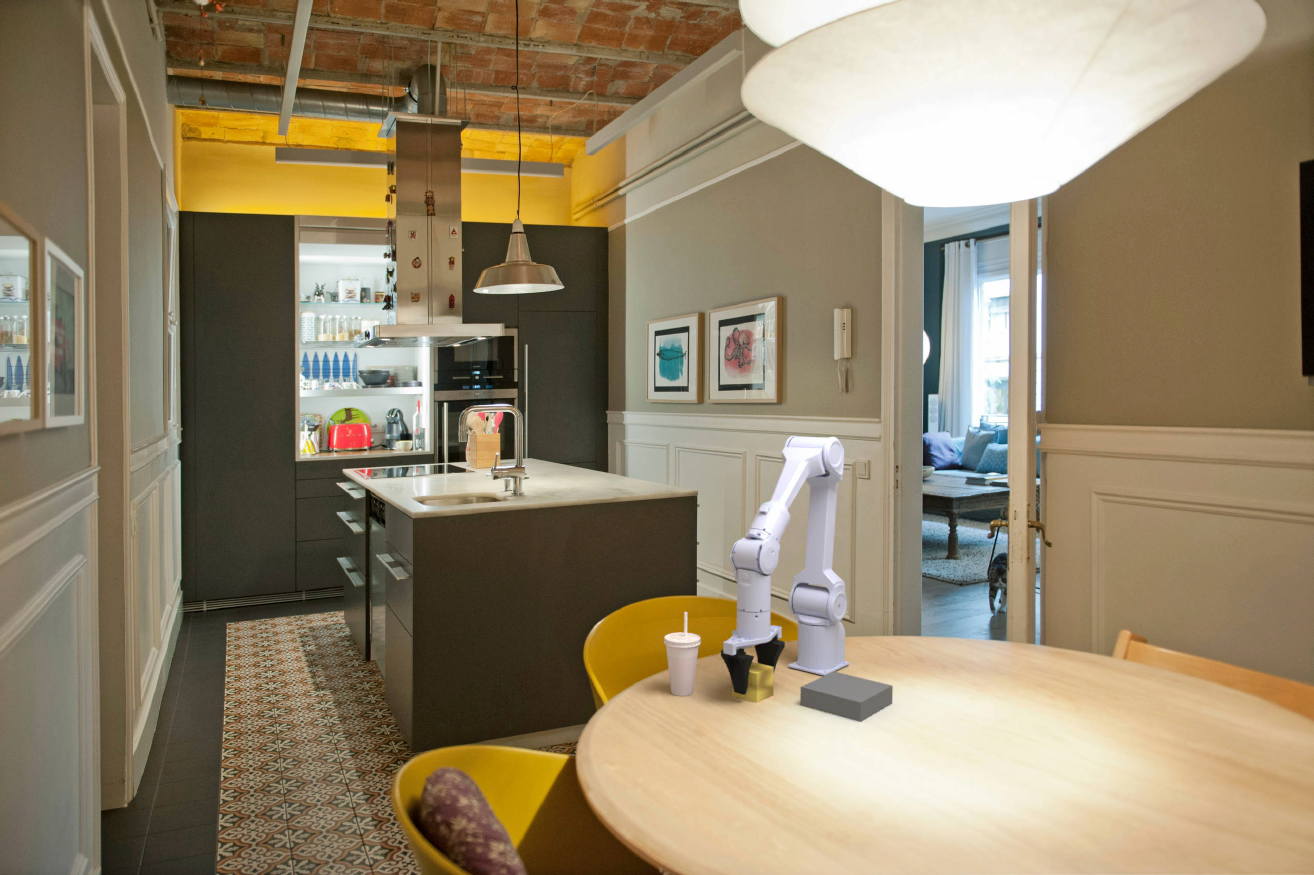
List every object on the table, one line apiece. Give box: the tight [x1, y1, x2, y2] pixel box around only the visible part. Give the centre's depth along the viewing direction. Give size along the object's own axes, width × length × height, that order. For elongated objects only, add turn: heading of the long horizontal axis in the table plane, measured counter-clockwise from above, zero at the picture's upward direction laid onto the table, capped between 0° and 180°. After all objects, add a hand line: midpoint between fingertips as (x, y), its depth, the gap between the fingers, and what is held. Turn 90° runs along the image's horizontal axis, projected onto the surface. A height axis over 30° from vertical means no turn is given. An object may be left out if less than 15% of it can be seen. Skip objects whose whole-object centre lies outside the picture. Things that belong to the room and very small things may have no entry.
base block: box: [800, 671, 894, 723], centre depth 139 cm, size 11×11×4 cm
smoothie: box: [663, 611, 702, 697], centre depth 144 cm, size 6×6×14 cm
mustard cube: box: [732, 661, 775, 704], centre depth 143 cm, size 5×5×5 cm
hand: (753, 687), depth 143 cm, fingers open, 7 cm apart
